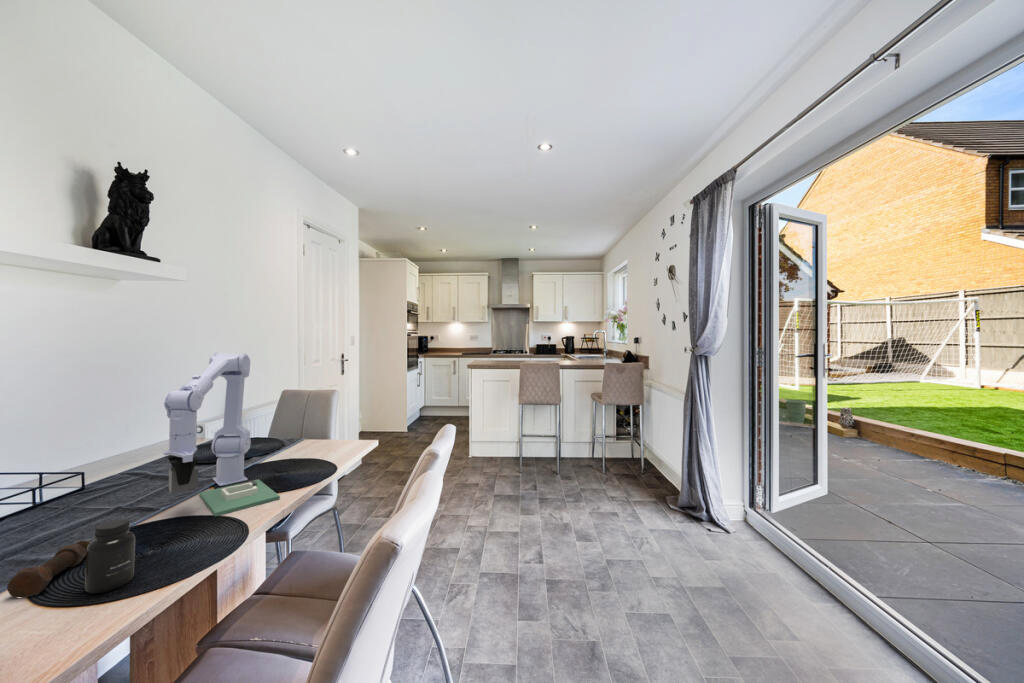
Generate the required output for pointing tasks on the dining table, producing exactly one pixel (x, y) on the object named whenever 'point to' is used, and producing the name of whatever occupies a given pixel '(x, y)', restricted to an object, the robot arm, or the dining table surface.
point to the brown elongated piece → (46, 571)
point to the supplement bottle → (110, 557)
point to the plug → (176, 488)
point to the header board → (238, 497)
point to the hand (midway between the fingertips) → (182, 482)
